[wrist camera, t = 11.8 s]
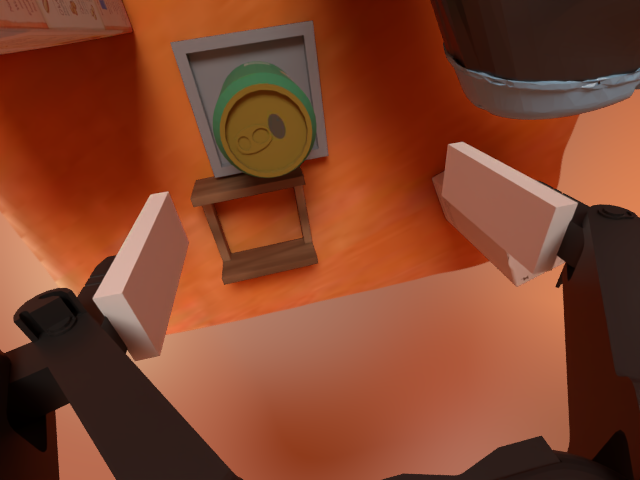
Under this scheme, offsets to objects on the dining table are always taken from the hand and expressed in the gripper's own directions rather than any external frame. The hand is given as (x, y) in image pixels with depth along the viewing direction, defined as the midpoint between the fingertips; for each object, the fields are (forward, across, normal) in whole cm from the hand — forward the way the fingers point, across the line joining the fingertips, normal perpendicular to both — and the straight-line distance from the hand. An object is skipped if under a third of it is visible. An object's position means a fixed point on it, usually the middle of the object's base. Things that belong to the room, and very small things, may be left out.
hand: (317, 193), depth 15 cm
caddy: (+23, -5, -13) cm, 27 cm away
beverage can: (+23, -2, 0) cm, 23 cm away
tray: (+24, -2, 0) cm, 24 cm away
